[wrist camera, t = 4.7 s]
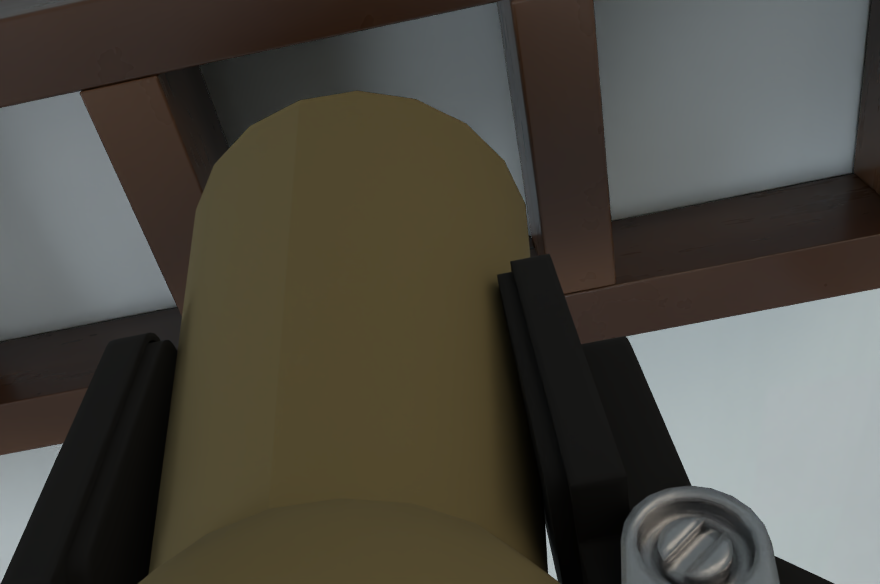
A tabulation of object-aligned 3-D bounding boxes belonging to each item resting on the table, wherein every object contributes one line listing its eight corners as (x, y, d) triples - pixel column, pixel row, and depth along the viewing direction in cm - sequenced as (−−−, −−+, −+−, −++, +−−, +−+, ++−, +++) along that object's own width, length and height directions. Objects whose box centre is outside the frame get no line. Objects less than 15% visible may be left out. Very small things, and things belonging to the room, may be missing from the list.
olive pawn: (519, 378, 16) (697, 1163, 7) (218, 387, 16) (-4, 1226, 7) (543, 88, 13) (938, 855, 4) (166, 92, 13) (-409, 945, 3)
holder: (-281, 57, 18) (-390, 104, 15) (970, -220, 16) (1077, -218, 14) (-43, 398, 23) (-94, 473, 21) (904, 214, 22) (972, 271, 19)
